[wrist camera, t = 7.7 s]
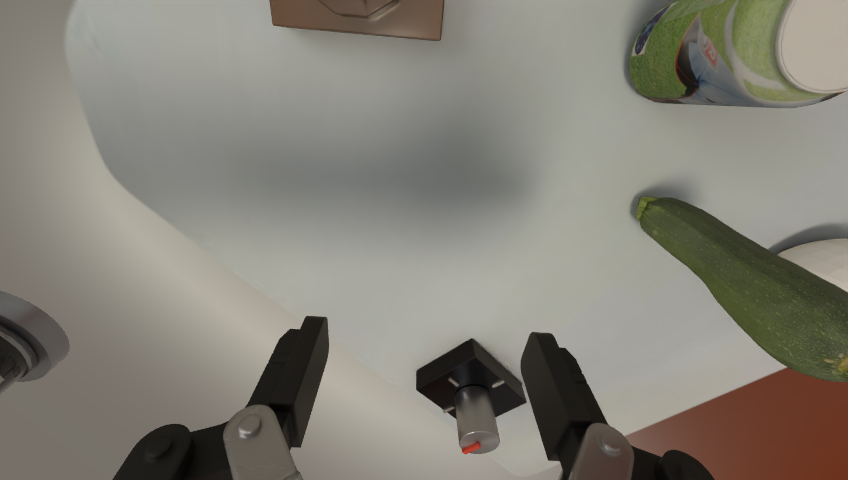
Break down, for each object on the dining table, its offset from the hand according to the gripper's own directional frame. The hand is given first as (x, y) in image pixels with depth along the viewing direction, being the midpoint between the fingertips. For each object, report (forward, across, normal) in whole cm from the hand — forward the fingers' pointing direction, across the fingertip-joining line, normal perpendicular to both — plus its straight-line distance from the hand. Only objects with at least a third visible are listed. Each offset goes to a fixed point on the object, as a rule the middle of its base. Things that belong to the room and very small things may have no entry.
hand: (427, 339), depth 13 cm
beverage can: (+16, -15, -12) cm, 25 cm away
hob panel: (+16, -8, +23) cm, 29 cm away
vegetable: (+16, -19, 0) cm, 25 cm away
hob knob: (+14, -8, +23) cm, 28 cm away
